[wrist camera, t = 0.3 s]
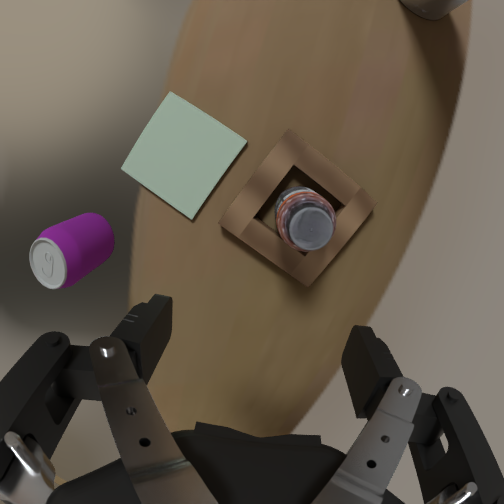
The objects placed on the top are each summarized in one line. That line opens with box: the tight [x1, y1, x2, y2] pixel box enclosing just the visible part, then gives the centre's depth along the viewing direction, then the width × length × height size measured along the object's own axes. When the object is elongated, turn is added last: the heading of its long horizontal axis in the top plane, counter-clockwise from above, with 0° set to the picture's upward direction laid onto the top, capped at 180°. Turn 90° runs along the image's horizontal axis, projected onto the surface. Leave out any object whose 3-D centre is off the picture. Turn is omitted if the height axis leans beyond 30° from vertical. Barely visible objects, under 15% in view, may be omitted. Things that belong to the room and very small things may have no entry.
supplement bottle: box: [275, 186, 336, 252], centre depth 31 cm, size 6×6×11 cm
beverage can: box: [30, 213, 114, 289], centre depth 33 cm, size 8×8×12 cm
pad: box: [121, 92, 248, 220], centre depth 34 cm, size 12×12×1 cm
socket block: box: [218, 129, 378, 287], centre depth 35 cm, size 14×14×2 cm
